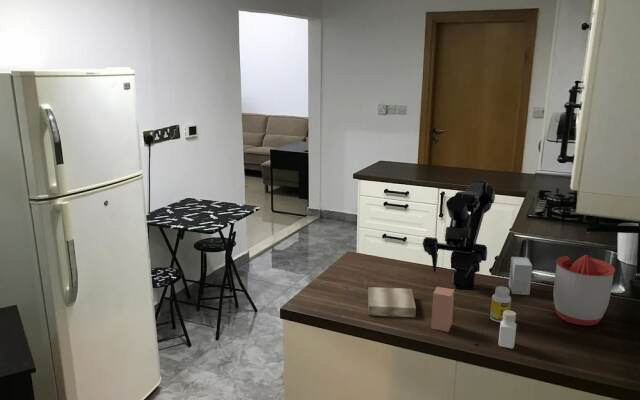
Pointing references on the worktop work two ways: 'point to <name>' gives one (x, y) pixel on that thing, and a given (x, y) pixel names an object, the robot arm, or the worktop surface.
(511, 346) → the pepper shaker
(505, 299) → the supplement bottle
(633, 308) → the worktop surface
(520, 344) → the worktop surface
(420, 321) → the worktop surface
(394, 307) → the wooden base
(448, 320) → the terracotta block
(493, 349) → the worktop surface
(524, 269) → the small box
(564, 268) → the citrus juicer
